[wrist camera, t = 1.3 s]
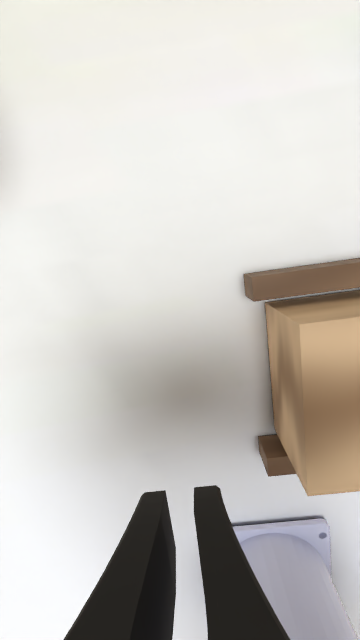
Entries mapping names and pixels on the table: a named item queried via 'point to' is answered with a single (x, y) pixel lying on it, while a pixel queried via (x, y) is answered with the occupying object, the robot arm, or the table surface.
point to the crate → (317, 387)
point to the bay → (289, 285)
